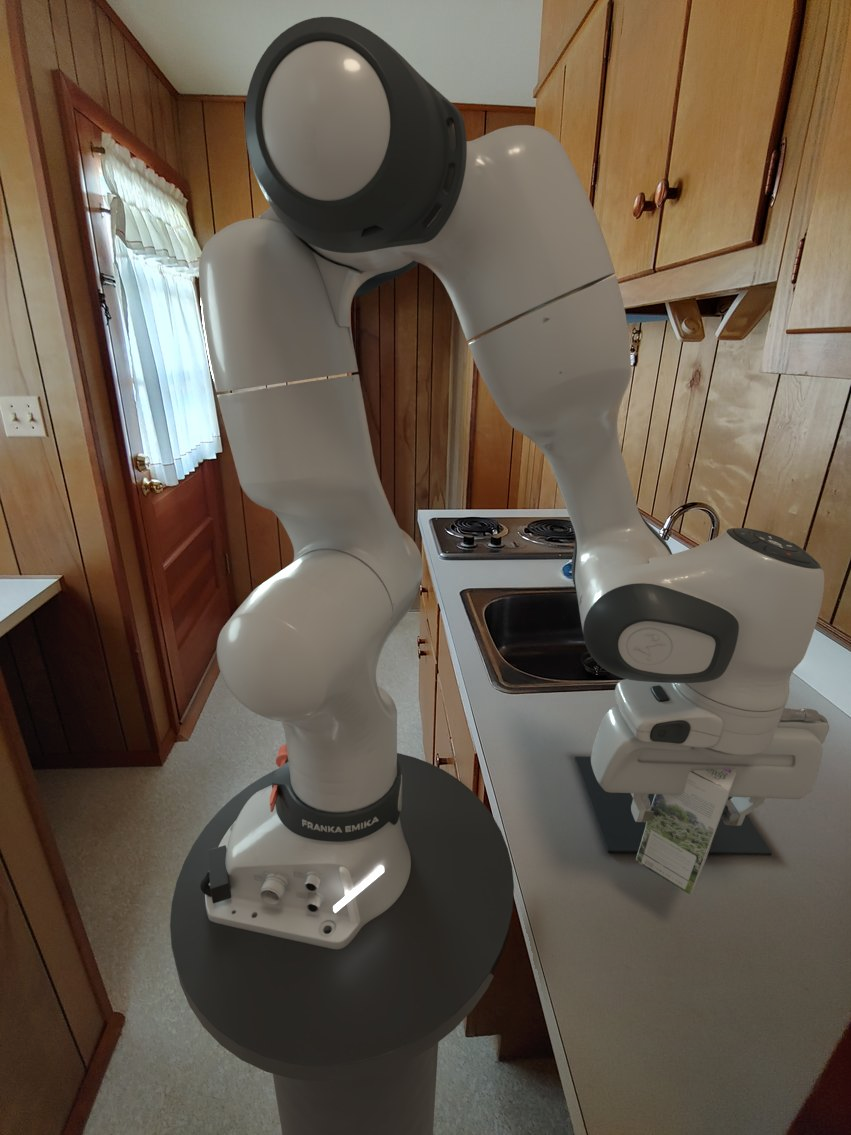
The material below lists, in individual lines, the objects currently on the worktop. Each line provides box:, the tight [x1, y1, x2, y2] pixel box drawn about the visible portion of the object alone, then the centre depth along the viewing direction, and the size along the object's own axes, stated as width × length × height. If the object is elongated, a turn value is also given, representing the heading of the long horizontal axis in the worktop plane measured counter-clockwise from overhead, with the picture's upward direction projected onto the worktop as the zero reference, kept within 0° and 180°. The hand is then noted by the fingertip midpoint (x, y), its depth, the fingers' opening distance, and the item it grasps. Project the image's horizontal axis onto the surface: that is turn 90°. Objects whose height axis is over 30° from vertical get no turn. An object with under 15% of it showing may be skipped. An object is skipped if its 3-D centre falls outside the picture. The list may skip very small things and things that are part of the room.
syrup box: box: [635, 769, 736, 895], centre depth 55 cm, size 6×6×14 cm
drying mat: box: [574, 755, 773, 856], centre depth 74 cm, size 20×16×1 cm
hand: (684, 818), depth 55 cm, fingers closed on syrup box, 7 cm apart
